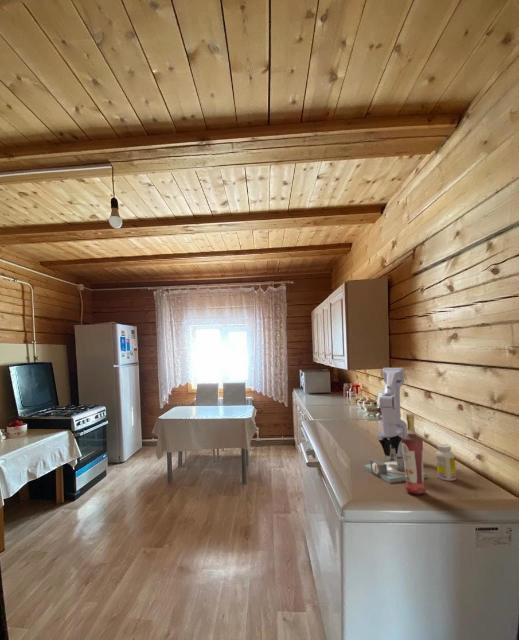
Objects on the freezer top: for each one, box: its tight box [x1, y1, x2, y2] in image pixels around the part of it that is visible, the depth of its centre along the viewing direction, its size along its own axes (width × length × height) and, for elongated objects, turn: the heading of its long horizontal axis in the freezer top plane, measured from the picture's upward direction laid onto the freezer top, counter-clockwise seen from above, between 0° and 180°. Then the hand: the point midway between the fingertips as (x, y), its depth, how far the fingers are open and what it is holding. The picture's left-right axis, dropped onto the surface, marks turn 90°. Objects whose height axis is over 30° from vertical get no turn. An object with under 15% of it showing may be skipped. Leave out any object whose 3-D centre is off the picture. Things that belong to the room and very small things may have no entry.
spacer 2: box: [397, 456, 405, 472], centre depth 141 cm, size 4×4×5 cm
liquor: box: [401, 413, 427, 496], centre depth 125 cm, size 7×7×28 cm
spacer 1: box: [384, 447, 396, 462], centre depth 148 cm, size 4×4×5 cm
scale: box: [363, 459, 428, 484], centre depth 144 cm, size 18×18×5 cm
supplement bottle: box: [435, 443, 457, 482], centre depth 137 cm, size 7×7×13 cm
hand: (391, 454), depth 148 cm, fingers closed on spacer 1, 4 cm apart
